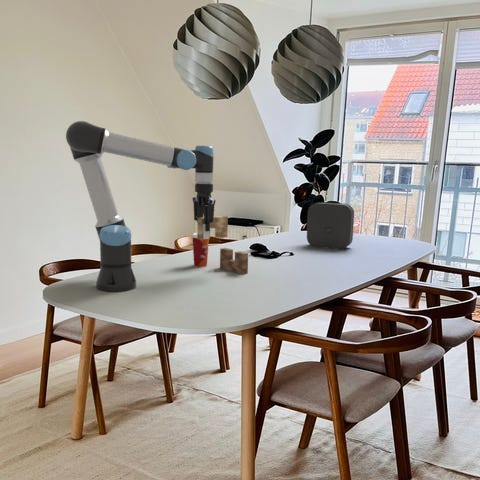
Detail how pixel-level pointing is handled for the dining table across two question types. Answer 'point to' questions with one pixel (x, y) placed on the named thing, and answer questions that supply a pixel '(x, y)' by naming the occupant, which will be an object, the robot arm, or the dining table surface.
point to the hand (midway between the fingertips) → (203, 238)
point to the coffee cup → (200, 251)
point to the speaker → (330, 225)
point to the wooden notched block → (234, 261)
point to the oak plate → (218, 223)
